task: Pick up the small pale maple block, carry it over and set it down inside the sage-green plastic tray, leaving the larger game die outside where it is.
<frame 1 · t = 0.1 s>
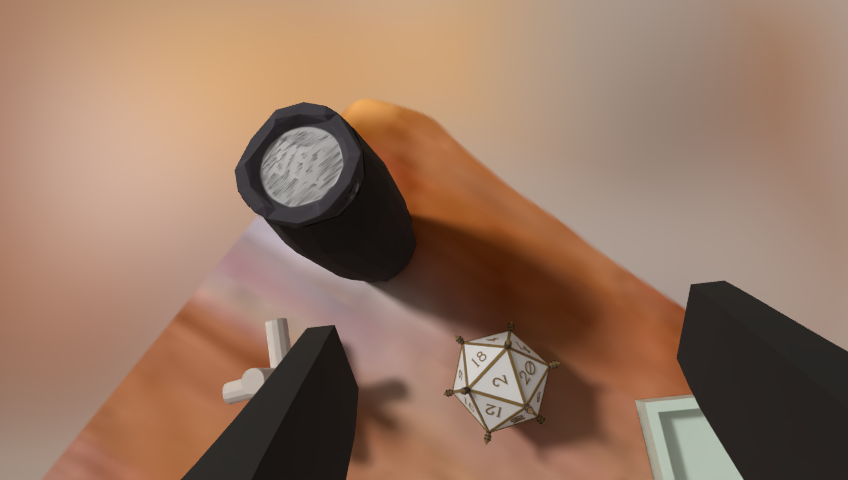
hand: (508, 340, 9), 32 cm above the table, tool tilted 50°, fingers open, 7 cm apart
pipe connector: (308, 377, 42), on the table
game die: (499, 377, 39), on the table
portable speaker: (379, 245, 44), on the table
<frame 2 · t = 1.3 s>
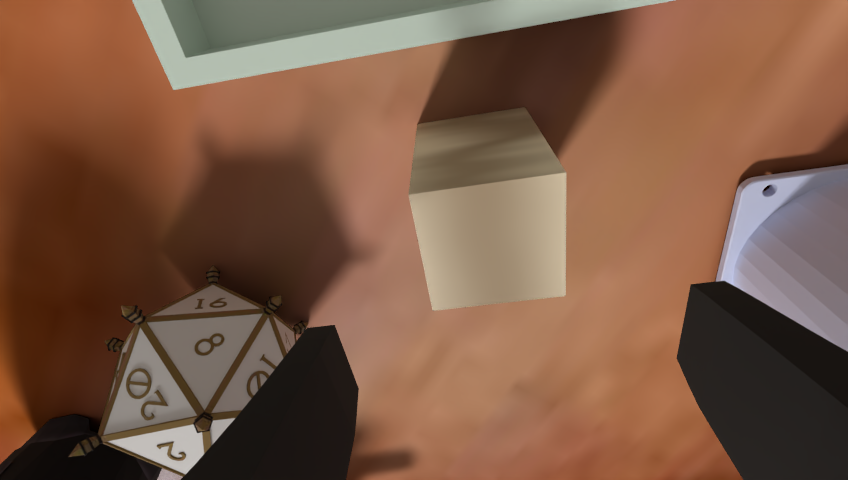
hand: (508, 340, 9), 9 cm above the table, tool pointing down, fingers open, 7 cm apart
maple block: (475, 165, 17), on the table
game die: (248, 309, 22), on the table
portable speaker: (104, 448, 29), on the table
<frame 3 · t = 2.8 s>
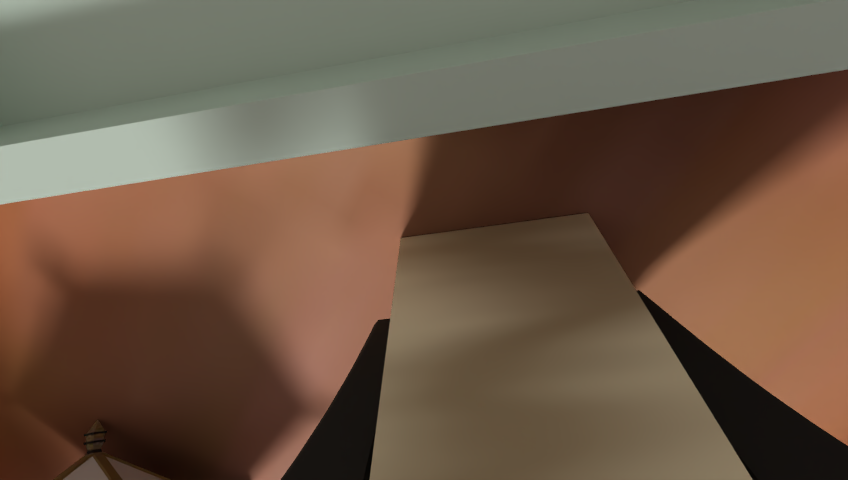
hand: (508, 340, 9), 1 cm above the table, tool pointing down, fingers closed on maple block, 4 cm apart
maple block: (499, 297, 10), on the table, touching gripper
game die: (162, 466, 15), on the table
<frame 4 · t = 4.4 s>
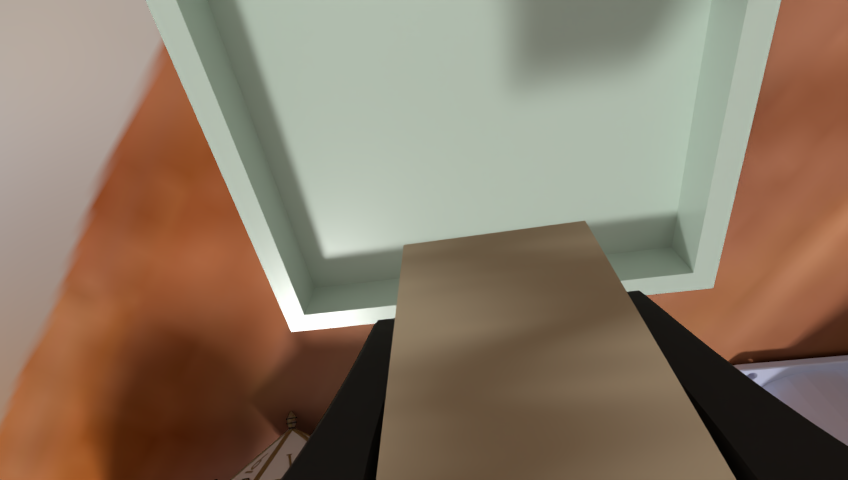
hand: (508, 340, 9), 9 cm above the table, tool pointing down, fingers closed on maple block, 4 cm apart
maple block: (499, 301, 11), point 7 cm above the table, touching gripper
game die: (315, 439, 26), on the table
sorting tray: (467, 110, 15), on the table
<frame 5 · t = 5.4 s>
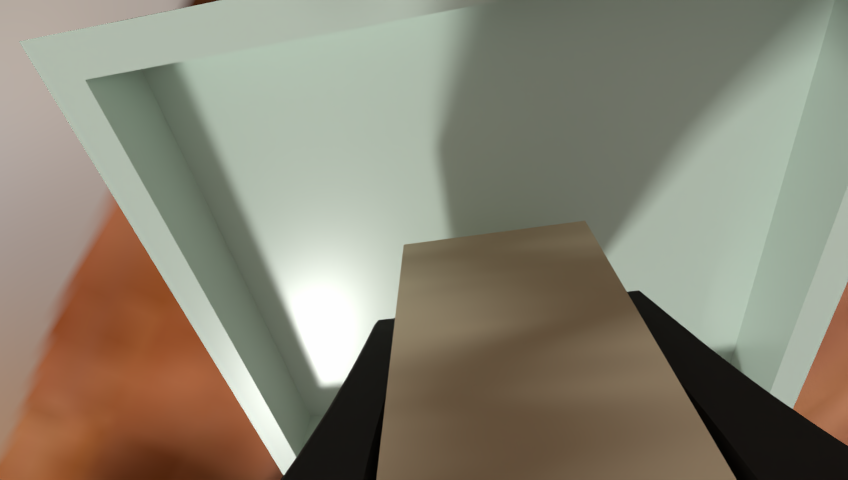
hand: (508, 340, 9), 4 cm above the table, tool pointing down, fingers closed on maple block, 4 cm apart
maple block: (499, 301, 11), point 3 cm above the table, touching gripper
sorting tray: (488, 237, 13), on the table
when the fingers open (4 cm above the table, at t = 5.9 s): maple block drops 1 cm, resting on sorting tray.
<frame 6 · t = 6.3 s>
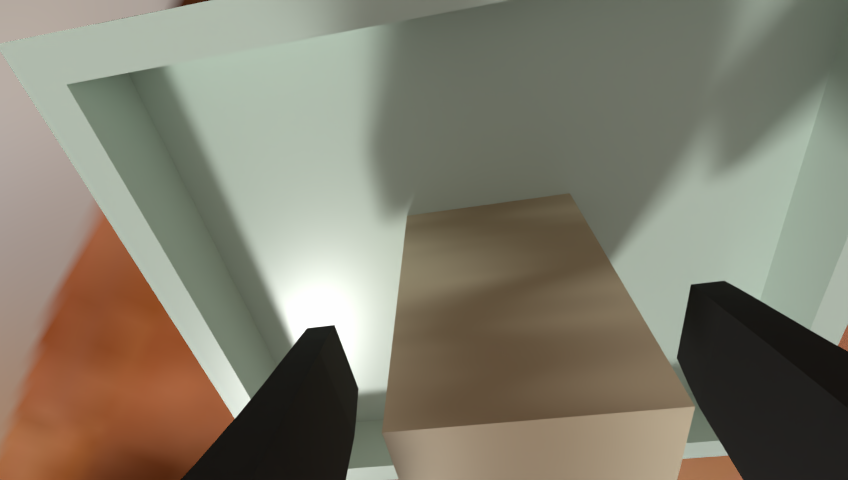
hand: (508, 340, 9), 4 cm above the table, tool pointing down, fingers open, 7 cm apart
maple block: (493, 269, 12), point 1 cm above the table, touching sorting tray
sorting tray: (489, 245, 12), on the table
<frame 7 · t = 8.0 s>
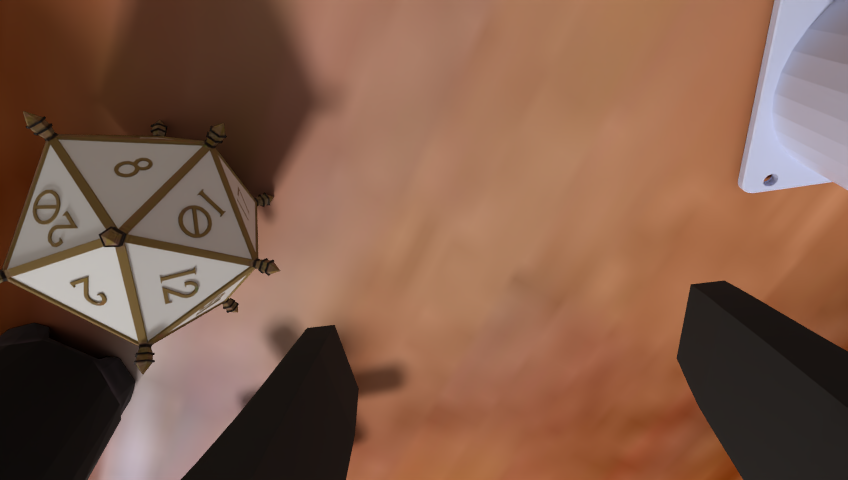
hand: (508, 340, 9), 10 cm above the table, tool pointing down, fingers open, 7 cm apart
game die: (206, 182, 19), on the table
portable speaker: (72, 367, 26), on the table
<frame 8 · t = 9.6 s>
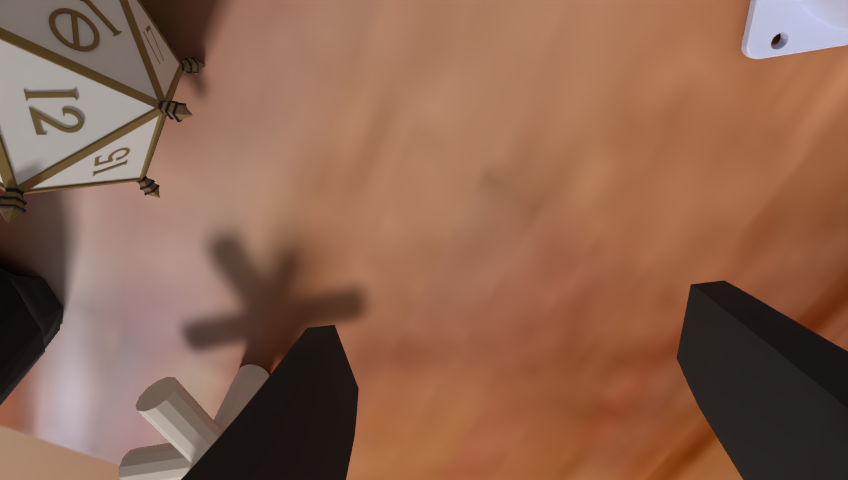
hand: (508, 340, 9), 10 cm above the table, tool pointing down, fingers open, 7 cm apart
pipe connector: (255, 372, 26), on the table
game die: (125, 46, 16), on the table
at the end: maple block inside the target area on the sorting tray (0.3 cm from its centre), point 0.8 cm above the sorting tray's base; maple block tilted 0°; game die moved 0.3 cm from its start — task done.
